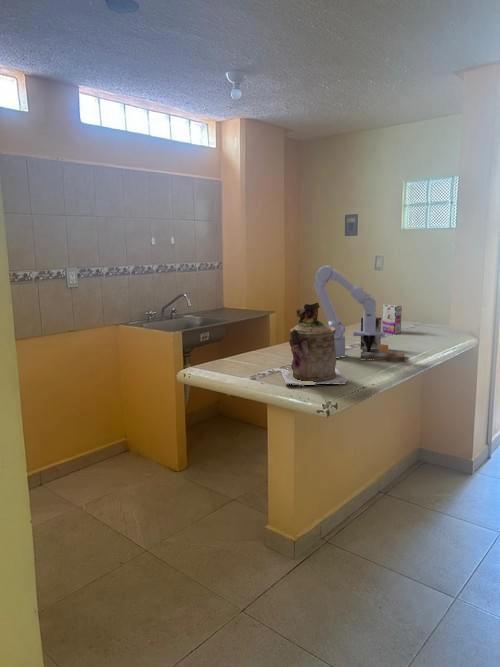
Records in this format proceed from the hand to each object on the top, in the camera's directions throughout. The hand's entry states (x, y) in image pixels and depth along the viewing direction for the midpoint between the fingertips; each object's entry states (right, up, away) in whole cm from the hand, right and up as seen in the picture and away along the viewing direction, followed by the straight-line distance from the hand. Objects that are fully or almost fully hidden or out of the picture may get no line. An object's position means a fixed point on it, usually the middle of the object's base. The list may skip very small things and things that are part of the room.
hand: (368, 351), depth 234 cm
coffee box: (+5, 0, +19) cm, 19 cm away
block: (+6, -1, -2) cm, 7 cm away
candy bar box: (+28, +9, +59) cm, 65 cm away
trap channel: (+6, -3, -1) cm, 7 cm away
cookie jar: (-31, -10, -31) cm, 45 cm away
